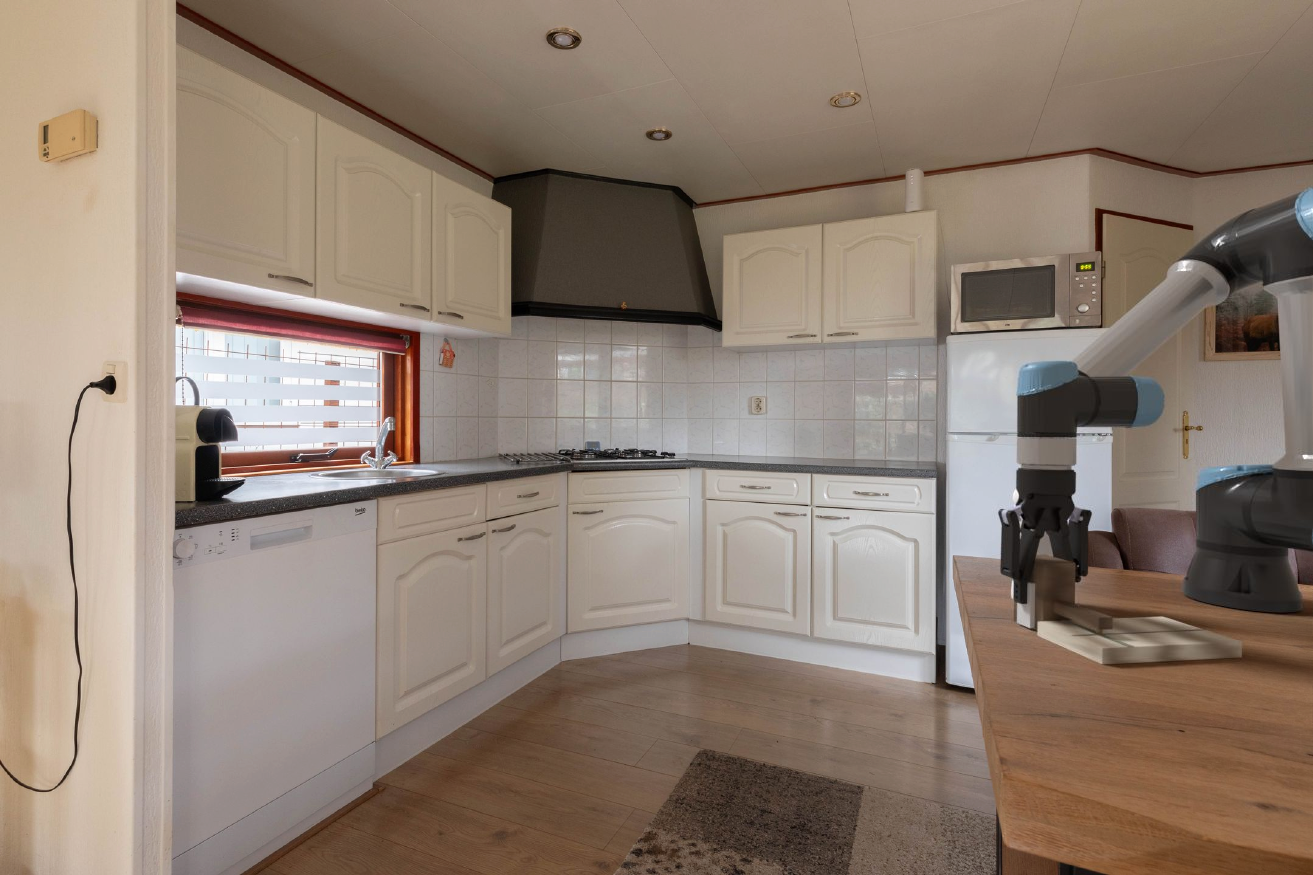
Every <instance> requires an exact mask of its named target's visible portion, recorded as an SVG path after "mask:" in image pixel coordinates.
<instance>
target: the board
mask: <svg viewBox="0 0 1313 875" xmlns="http://www.w3.org/2000/svg"><path fill="white" fill-rule="evenodd" d="M1037 637H1040V639H1041V638H1042V639H1044V640H1046V641H1048V642H1051V643H1053V644H1055V645H1057V646H1060V647H1061V648H1065V649H1067V650H1069V651H1071V652H1073V653H1075V654H1078V655H1080V656H1083V657H1084V658H1087V659H1089V660H1091V661H1094V662H1096V663H1098V664H1100V665H1117V664H1118V665H1119V664H1136V663H1137V664H1139V663H1157V662H1177V661H1179V662H1180V661H1193V660H1194V661H1196V660H1212V659H1215V660H1217V659H1232V658H1234V659H1235V658H1236V659H1237V658H1242V657H1243V656H1242V655H1243V641H1240V640H1237V639H1234V638H1231V637H1228V636H1225V635H1223V634H1222V635H1221V634H1219V633H1216V632H1213V631H1209V630H1207V629H1203V628H1200V627H1197V626H1194V625H1191V624H1187V623H1184V622H1181V621H1178V620H1175V619H1172V618H1168V617H1165V616H1146V617H1115V618H1113V629H1107V630H1103V633H1097V632H1096V629H1095V628H1093V627H1090V626H1087V625H1085V624H1082V623H1079V622H1077V621H1074V620H1061V621H1040V622H1038V631H1037Z"/></svg>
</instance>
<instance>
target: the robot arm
mask: <svg viewBox="0 0 1313 875" xmlns="http://www.w3.org/2000/svg"><path fill="white" fill-rule="evenodd" d="M1259 283H1262V287H1263V288H1262V289H1263V290H1264V291H1266V292H1267V293H1269V294H1270V295H1273V296H1274V297H1275V298H1276V299H1277V312H1278V313H1277V315H1278V333H1279V349H1280V351H1279V352H1280V353H1279V354H1280V371H1281V372H1280V373H1281V374H1280V375H1281V390H1282V392H1281V393H1282V410H1283V428H1284V429H1283V432H1284V448H1285V449H1284V450H1285V454H1284V455H1283V456H1282V457H1281V458H1279V460H1277V461H1276V462H1275V463H1273V464H1272V463H1271V464H1268V463H1267V464H1242V465H1240V464H1239V465H1236V464H1235V465H1221V466H1219V465H1218V466H1210V467H1206V468H1204V469H1203V468H1202V470H1200V472H1199V473H1198V475H1197V483H1196V488H1195V525H1196V526H1195V552H1194V554H1193V557H1192V559H1191V561H1190V564H1189V566H1188V568H1187V572H1186V575H1185V577H1183V579H1182V586H1181V587H1182V588H1181V589H1182V590H1181V593H1182V594H1183V595H1184V596H1186V597H1188V598H1190V599H1194V600H1195V601H1200V602H1203V603H1207V604H1211V605H1215V606H1221V607H1225V608H1232V609H1239V610H1245V611H1254V612H1265V613H1266V612H1267V613H1298V612H1300V611H1303V592H1302V591H1300V589H1299V585H1298V583H1297V580H1296V576H1295V574H1294V572H1293V570H1292V569H1293V568H1292V567H1291V564H1290V562H1289V550H1290V549H1291V550H1297V551H1301V552H1306V553H1312V554H1313V186H1311V187H1309V188H1306V189H1305V190H1303V191H1301V192H1298V193H1296V194H1293V195H1291V196H1287V197H1285V198H1282V199H1279V200H1277V201H1273V202H1271V203H1268V204H1264V205H1262V206H1259V207H1256V208H1252V209H1250V210H1249V209H1248V211H1245V212H1242V213H1240V214H1238V215H1236V216H1234V217H1232V218H1230V219H1229V220H1227V221H1226V222H1224V223H1223V224H1221V225H1220V226H1218V227H1217V228H1216V229H1214V230H1213V231H1212V232H1210V233H1209V234H1208V235H1206V236H1205V237H1204V238H1202V239H1201V240H1200V241H1198V242H1197V243H1196V244H1195V245H1194V246H1192V247H1191V249H1189V250H1188V251H1186V253H1184V254H1183V255H1182V256H1181V257H1180V258H1179V259H1178V260H1176V261H1175V262H1174V263H1173V264H1172V265H1171V266H1170V267H1168V270H1167V272H1166V278H1165V279H1164V280H1163V281H1162V282H1161V283H1159V284H1158V285H1157V286H1155V288H1154V289H1152V290H1151V291H1150V292H1149V293H1148V294H1147V295H1146V296H1145V297H1143V298H1142V299H1141V300H1140V301H1139V302H1138V303H1137V304H1135V305H1134V306H1133V307H1132V308H1131V309H1130V310H1128V311H1127V312H1126V313H1125V314H1124V315H1123V316H1122V317H1121V318H1119V319H1118V320H1117V321H1116V322H1114V324H1112V325H1111V326H1110V327H1109V328H1108V329H1106V330H1105V331H1104V332H1103V333H1102V334H1101V335H1099V336H1098V337H1097V338H1096V339H1095V340H1094V341H1093V342H1091V343H1090V344H1089V345H1088V346H1087V347H1086V348H1085V349H1083V350H1082V352H1080V353H1079V354H1078V355H1076V357H1074V358H1073V359H1072V360H1069V361H1068V360H1044V361H1042V360H1041V361H1033V362H1027V363H1024V364H1023V365H1021V367H1020V368H1019V371H1018V378H1017V386H1016V387H1017V388H1016V396H1017V397H1016V405H1017V406H1016V407H1017V408H1016V410H1017V411H1016V415H1017V416H1016V432H1017V434H1016V435H1017V436H1016V463H1017V464H1018V465H1020V467H1018V468H1017V469H1016V470H1015V471H1016V473H1015V479H1016V480H1015V489H1016V490H1017V492H1018V494H1019V498H1018V501H1017V503H1016V506H1015V507H1014V506H1012V507H1010V508H1008V509H1005V508H1000V509H999V510H998V512H997V514H998V518H999V522H1000V523H1001V529H1000V530H1001V531H1000V532H1001V534H1000V535H1001V536H1000V537H1001V538H1000V539H1001V540H1000V563H999V565H1000V569H999V572H1000V574H1001V575H1002V576H1005V577H1007V578H1010V579H1011V580H1012V579H1013V582H1014V585H1013V591H1014V592H1013V594H1014V595H1013V599H1014V600H1013V599H1012V600H1013V603H1014V602H1017V622H1016V623H1017V624H1019V625H1021V626H1023V627H1026V628H1028V629H1031V628H1035V583H1032V582H1029V581H1030V578H1031V574H1032V570H1033V566H1034V562H1035V558H1036V554H1037V550H1038V546H1039V542H1040V539H1041V538H1043V536H1044V533H1045V531H1046V533H1047V534H1048V536H1049V539H1050V544H1051V548H1052V553H1053V557H1055V558H1059V559H1063V560H1067V561H1070V562H1074V563H1075V584H1076V583H1080V582H1081V581H1082V577H1083V578H1084V577H1087V576H1088V574H1089V526H1090V521H1091V519H1092V515H1093V512H1092V510H1090V509H1085V508H1080V507H1077V506H1076V505H1075V502H1074V501H1073V495H1075V494H1076V492H1077V490H1076V489H1077V472H1076V471H1075V469H1072V467H1074V466H1076V465H1077V442H1078V441H1077V437H1078V435H1077V434H1078V428H1125V429H1132V428H1145V427H1148V426H1151V425H1153V424H1155V423H1156V422H1157V421H1158V420H1159V419H1160V417H1161V416H1162V415H1163V412H1164V409H1165V402H1166V401H1165V398H1166V396H1165V392H1164V389H1163V387H1162V386H1161V385H1160V383H1159V382H1158V381H1156V380H1155V379H1153V378H1151V377H1146V376H1134V375H1132V374H1131V372H1133V371H1134V370H1135V369H1136V368H1137V367H1138V366H1140V364H1142V363H1144V362H1145V361H1146V359H1148V358H1149V357H1151V355H1153V353H1155V352H1156V351H1158V350H1159V348H1161V347H1162V346H1163V345H1164V344H1165V343H1166V342H1168V341H1169V340H1170V339H1171V338H1172V337H1174V336H1175V335H1176V334H1177V333H1178V332H1179V331H1180V330H1181V329H1183V328H1184V327H1185V326H1187V324H1188V323H1190V322H1191V321H1192V320H1193V319H1194V318H1195V317H1197V316H1198V315H1199V314H1200V313H1201V312H1203V310H1205V309H1206V308H1207V307H1213V306H1214V307H1215V306H1218V305H1220V304H1222V303H1223V302H1224V301H1225V300H1227V299H1228V298H1230V296H1232V295H1233V294H1235V293H1237V292H1238V291H1241V290H1243V289H1244V288H1248V287H1250V286H1253V285H1256V284H1259ZM1129 374H1131V375H1129ZM1020 516H1021V518H1022V519H1023V520H1022V519H1021V518H1020ZM1021 520H1022V524H1021V528H1020V523H1019V522H1020V521H1021ZM1030 529H1032V530H1034V531H1032V530H1030ZM1020 533H1021V538H1020Z"/></svg>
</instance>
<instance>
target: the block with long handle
mask: <svg viewBox="0 0 1313 875" xmlns="http://www.w3.org/2000/svg"><path fill="white" fill-rule="evenodd" d="M1029 582H1032V583H1035V628H1030V629H1031V630H1034V631H1036V632H1038V622H1040V621H1061V620H1074V621H1077V622H1079V623H1082V624H1085V625H1087V626H1090V627H1093V628H1095V629H1096V632H1097V633H1103V630H1107V629H1113V619H1114V618H1113V616H1112V615H1111V616H1110V615H1108V614H1105V613H1102V612H1099V611H1097V610H1094V609H1090V608H1088V607H1085V606H1082V605H1079V604H1076V582H1075V563H1074V562H1070V561H1067V560H1063V559H1059V558H1055V557H1052V556H1048V555H1036V558H1035V562H1034V566H1033V570H1032V574H1031V578H1030V581H1029ZM1013 622H1015V623H1017V602H1014V601H1013Z"/></svg>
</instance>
